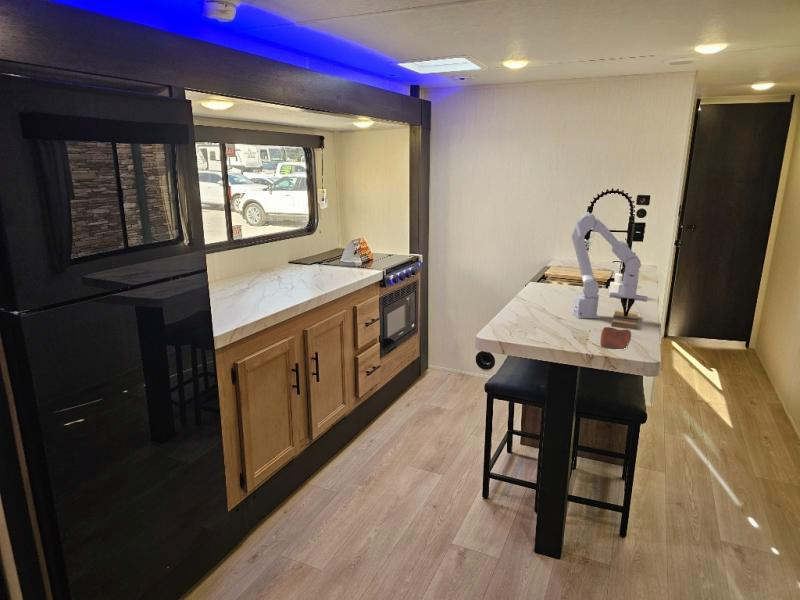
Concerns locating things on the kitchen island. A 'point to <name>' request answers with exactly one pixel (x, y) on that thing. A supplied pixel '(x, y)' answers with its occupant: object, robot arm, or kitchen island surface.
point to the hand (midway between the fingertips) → (625, 315)
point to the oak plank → (630, 314)
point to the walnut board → (624, 322)
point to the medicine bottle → (617, 284)
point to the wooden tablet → (614, 338)
